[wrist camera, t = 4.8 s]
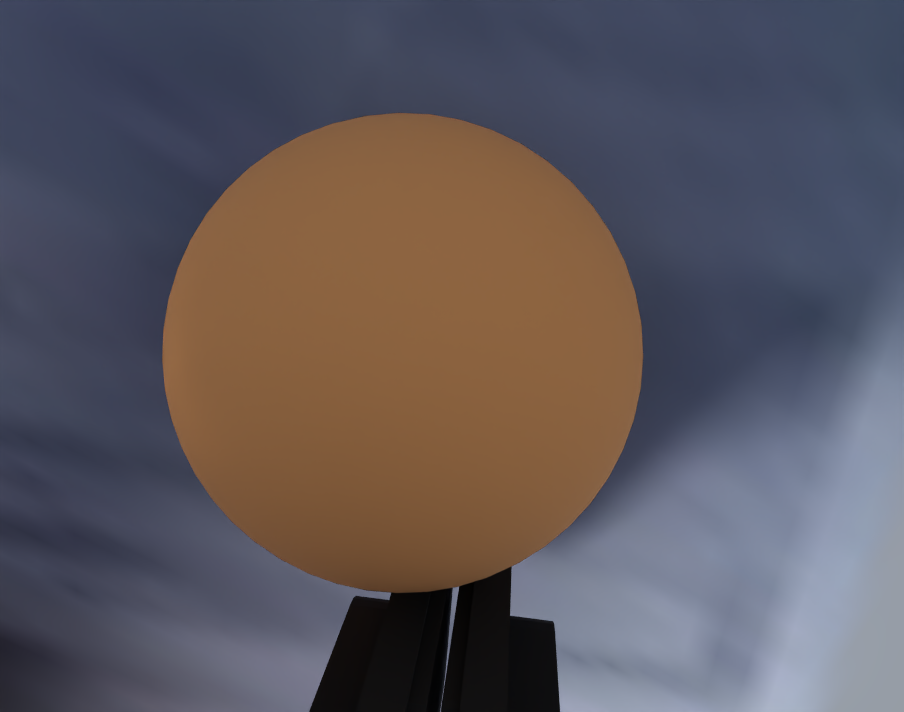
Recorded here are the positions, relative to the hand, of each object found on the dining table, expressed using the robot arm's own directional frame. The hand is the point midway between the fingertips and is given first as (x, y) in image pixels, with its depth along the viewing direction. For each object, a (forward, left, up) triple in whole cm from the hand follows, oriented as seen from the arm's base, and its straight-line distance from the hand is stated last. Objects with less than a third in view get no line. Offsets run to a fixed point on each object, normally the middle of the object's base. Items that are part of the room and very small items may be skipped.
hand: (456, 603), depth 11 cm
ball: (+2, +4, +1) cm, 5 cm away
